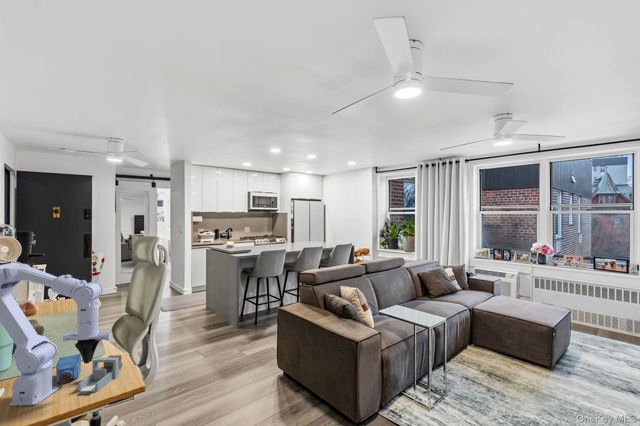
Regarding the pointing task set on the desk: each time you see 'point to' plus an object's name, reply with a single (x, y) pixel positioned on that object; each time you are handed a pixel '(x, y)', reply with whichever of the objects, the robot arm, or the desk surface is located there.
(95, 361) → the arch track
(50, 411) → the desk surface
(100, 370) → the sled
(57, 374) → the perfume bottle
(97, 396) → the desk surface
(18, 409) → the desk surface
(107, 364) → the walnut block
